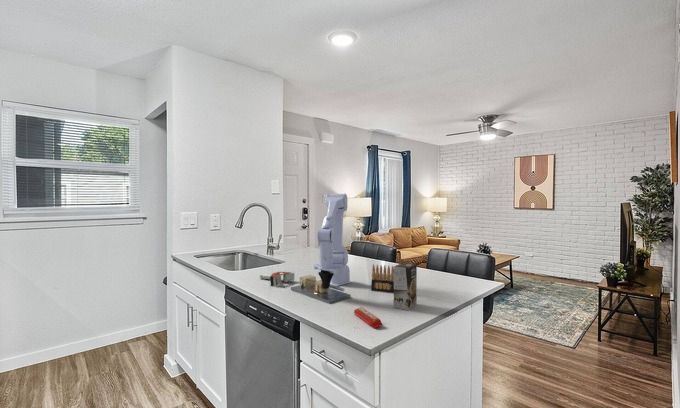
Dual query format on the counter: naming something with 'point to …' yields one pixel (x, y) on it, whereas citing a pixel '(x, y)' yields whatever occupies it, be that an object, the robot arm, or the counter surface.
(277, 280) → the tape dispenser
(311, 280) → the trammel beam
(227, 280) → the counter surface
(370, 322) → the candy bar
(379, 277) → the ammunition clip
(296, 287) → the bolt plate
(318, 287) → the trammel slider
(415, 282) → the coffee box
